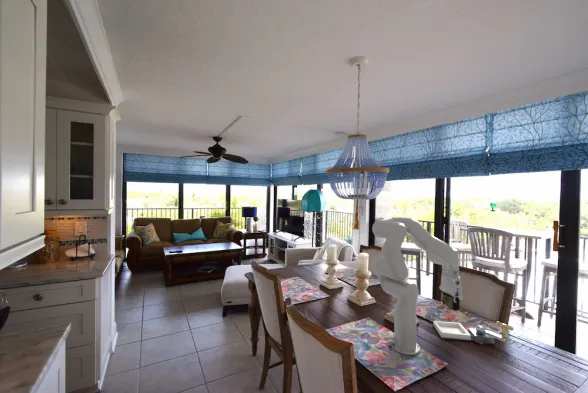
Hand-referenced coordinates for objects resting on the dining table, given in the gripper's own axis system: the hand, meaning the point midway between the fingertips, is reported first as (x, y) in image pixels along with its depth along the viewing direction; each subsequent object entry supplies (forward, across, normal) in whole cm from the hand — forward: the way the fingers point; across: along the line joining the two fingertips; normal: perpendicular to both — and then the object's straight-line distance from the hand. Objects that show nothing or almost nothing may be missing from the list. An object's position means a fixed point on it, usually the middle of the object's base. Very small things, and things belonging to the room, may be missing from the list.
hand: (450, 306), depth 137 cm
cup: (+2, 0, 0) cm, 2 cm away
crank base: (+13, -8, -10) cm, 18 cm away
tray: (+13, 0, 0) cm, 13 cm away
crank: (+10, -13, -12) cm, 20 cm away
